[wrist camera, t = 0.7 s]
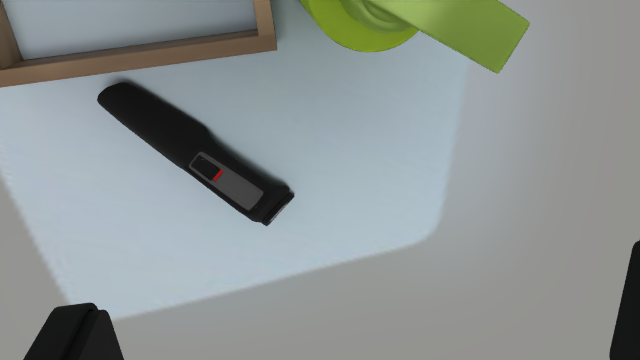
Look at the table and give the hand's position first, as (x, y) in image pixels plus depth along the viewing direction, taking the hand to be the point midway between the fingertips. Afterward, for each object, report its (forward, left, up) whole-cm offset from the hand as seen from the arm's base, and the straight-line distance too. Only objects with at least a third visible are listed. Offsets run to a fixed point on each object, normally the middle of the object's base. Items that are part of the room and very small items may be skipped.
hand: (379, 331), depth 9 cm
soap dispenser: (-5, +4, -29) cm, 29 cm away
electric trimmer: (+6, -8, -29) cm, 31 cm away
